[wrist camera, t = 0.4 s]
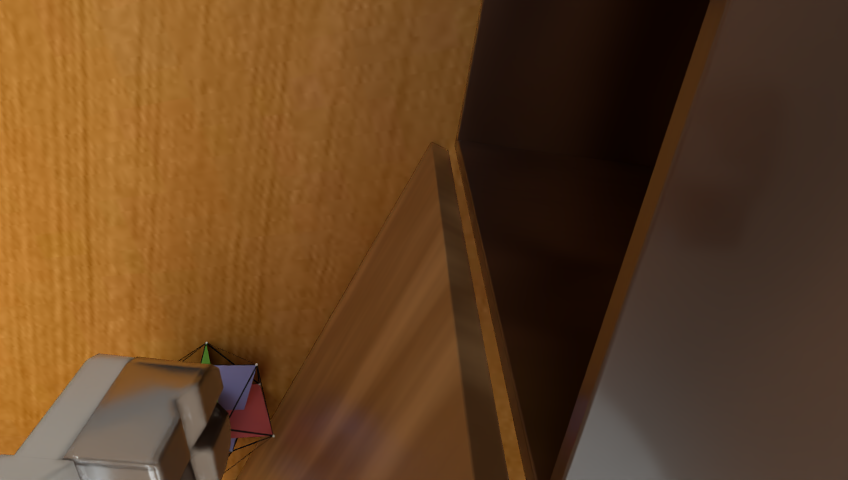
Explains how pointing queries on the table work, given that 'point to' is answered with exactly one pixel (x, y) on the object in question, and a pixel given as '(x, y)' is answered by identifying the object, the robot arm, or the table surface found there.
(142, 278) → the table surface
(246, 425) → the geometric puzzle
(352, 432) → the cupboard door
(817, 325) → the cupboard
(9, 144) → the table surface
